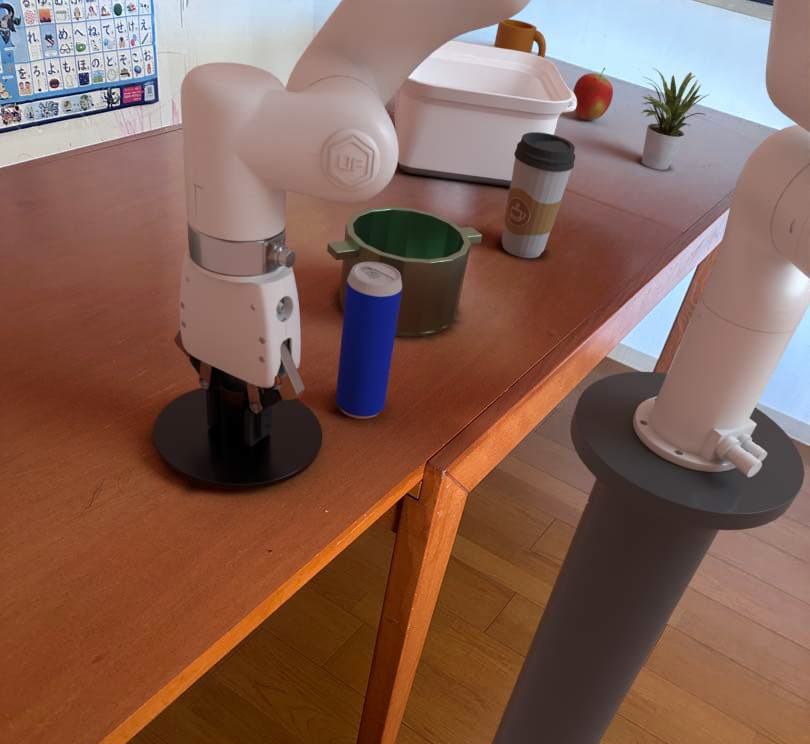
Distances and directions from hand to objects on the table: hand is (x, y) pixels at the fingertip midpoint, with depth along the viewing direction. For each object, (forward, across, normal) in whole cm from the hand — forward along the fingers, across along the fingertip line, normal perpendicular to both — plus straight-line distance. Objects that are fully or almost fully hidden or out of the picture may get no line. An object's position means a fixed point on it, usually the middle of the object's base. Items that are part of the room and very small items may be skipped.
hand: (239, 427), depth 77 cm
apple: (+3, +13, -133) cm, 134 cm away
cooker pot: (+2, +2, -34) cm, 35 cm away
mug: (+3, +39, -154) cm, 159 cm away
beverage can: (+2, -6, -13) cm, 14 cm away
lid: (+1, 0, 0) cm, 1 cm away
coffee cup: (+2, -3, -63) cm, 63 cm away
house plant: (+3, -6, -120) cm, 120 cm away
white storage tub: (+2, +20, -89) cm, 91 cm away
